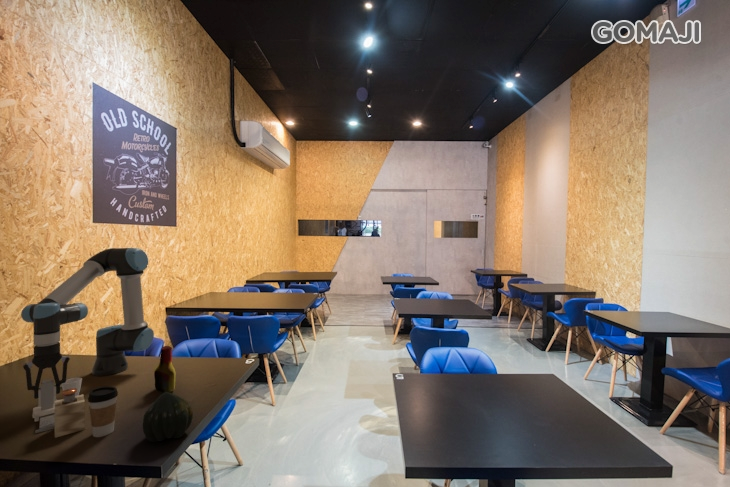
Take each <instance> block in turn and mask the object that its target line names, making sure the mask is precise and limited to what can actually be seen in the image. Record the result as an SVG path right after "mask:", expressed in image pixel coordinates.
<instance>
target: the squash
mask: <svg viewBox="0 0 730 487" xmlns="http://www.w3.org/2000/svg"><path fill="white" fill-rule="evenodd" d="M193 413H194V410H193V408H192V406H191V404H190V402H189V401H188V400H186V399H185V398H183V397H180V396H179V395H177V394H174V393H171V392H162V393H161V394H160V395H159V396H158V397H157V398H156V399H155V400H154V401H153V402H152V403H151V404H150V406H149V407H148V408H147V410H146V411H145V412H144V415H143V421H142V432H143V435H144V436H145V438H146V439H147V440H148V441H150V442H153V443H156V442H163V441H165V439H170V438H174V439H179V438H180V437H182V436H184V435H185V433H186V431H187V430H188V429H189V428H190V426H191V424H192V421H193V417H194V416H193V415H194V414H193Z"/></svg>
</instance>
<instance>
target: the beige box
mask: <svg viewBox="0 0 730 487" xmlns="http://www.w3.org/2000/svg"><path fill="white" fill-rule="evenodd" d="M84 396H85V395H84V394H83V393H82V394H79V395H78V396H75V402H72V403H68V404H64V398H62V399H58V400H56V401H55V428H54V439H56V438H59V437H63V436H66V435H69V434H70V435H71V434H73V433H77V432H80V431H83V430H84V431H85V430H86V405H85V404H86V403H85V402H86V401H85V397H84Z"/></svg>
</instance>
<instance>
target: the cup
mask: <svg viewBox="0 0 730 487" xmlns="http://www.w3.org/2000/svg"><path fill="white" fill-rule="evenodd" d="M82 382H83V378H82V377H72V378H68V379H67V378H66V382H65V383H62V384H61V385H60V388H62V392H63V391H64V390H67V389H71V388H76V389H77V392H76V393H75V396H78V395H80V391H81V387H82ZM57 400H59V399H57V398H56V401H57Z"/></svg>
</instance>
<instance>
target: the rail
mask: <svg viewBox="0 0 730 487" xmlns="http://www.w3.org/2000/svg"><path fill="white" fill-rule="evenodd" d="M53 429H54V430H55V413H52V414H48V415H44V416H40V417H39V427H38V429H35V434H38V433H42V432H45V431H49V430H53Z"/></svg>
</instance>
